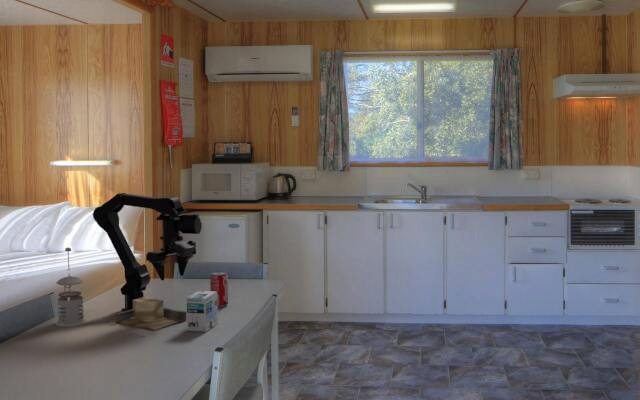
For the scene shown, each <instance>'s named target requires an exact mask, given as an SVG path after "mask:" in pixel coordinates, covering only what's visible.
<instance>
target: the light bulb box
mask: <svg viewBox="0 0 640 400" xmlns="http://www.w3.org/2000/svg"><path fill="white" fill-rule="evenodd" d="M218 310H219V307H218V304H217V291H211V290H197V291H196V292H193V293H192V294H191V295H189V296H187V297H186V317H187V321H186V324H187V331H189V332H204V333H205V332H206V333H207V332H209V331H210V330H211V329H212V328H214V327H216V326H217V325H218V324H219V319H218V318H219V312H218Z"/></svg>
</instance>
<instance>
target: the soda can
mask: <svg viewBox="0 0 640 400" xmlns="http://www.w3.org/2000/svg"><path fill="white" fill-rule="evenodd" d="M209 280H210V282H209V283H210V285H209V286H210V288H209V289H210V290H209V291H217V304H218V308H225V307H227V305H229V276H228V274H227V272H225V271H214V272H211V275H210V278H209Z"/></svg>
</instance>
